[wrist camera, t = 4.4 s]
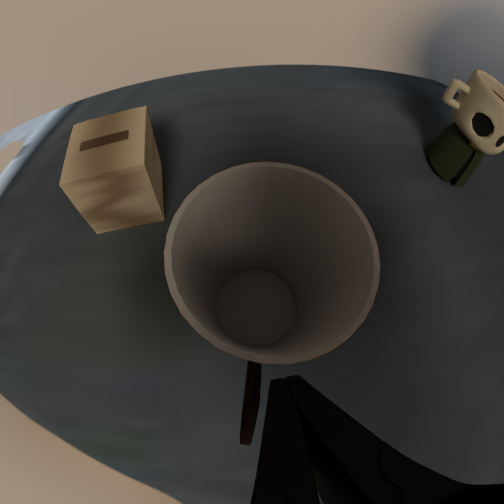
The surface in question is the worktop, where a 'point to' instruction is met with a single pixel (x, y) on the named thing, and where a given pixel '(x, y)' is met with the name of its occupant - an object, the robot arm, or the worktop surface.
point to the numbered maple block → (115, 171)
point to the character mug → (470, 127)
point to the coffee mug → (271, 267)
